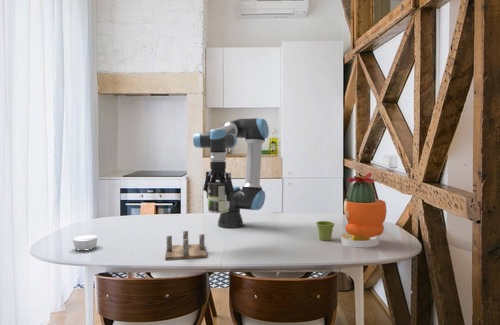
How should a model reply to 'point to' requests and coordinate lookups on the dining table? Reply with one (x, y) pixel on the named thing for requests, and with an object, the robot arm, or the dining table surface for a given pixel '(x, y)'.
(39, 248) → the dining table surface
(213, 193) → the coffee can
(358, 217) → the potted cactus
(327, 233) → the plant pot
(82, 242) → the ramekin
